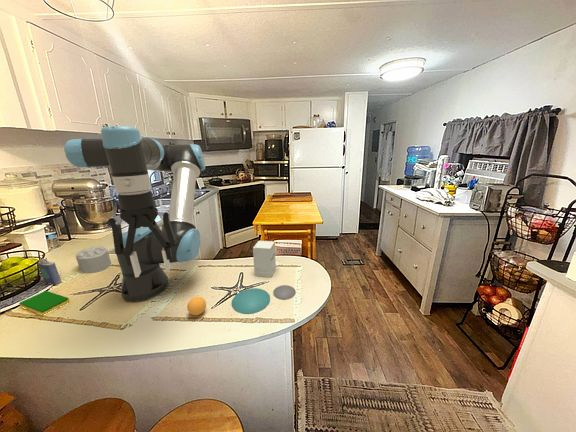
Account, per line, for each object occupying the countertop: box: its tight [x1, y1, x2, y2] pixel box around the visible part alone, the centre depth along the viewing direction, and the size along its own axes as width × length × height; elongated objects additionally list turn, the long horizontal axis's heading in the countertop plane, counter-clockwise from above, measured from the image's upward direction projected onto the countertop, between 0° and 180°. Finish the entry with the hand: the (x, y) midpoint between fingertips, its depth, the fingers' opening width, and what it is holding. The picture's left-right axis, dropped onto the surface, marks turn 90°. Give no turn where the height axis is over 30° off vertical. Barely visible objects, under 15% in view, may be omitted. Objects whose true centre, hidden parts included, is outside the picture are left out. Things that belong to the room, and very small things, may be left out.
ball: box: [186, 296, 207, 316], centre depth 70 cm, size 6×6×6 cm
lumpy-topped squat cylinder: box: [75, 245, 112, 274], centre depth 101 cm, size 10×13×9 cm
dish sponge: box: [18, 290, 71, 316], centre depth 77 cm, size 7×14×2 cm, turn 70°
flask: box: [37, 257, 62, 286], centre depth 89 cm, size 9×3×11 cm, turn 68°
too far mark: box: [272, 284, 296, 301], centre depth 80 cm, size 8×8×1 cm
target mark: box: [231, 287, 271, 315], centre depth 76 cm, size 13×13×1 cm
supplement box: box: [252, 240, 277, 278], centre depth 92 cm, size 7×7×13 cm
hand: (153, 271), depth 63 cm, fingers open, 7 cm apart
